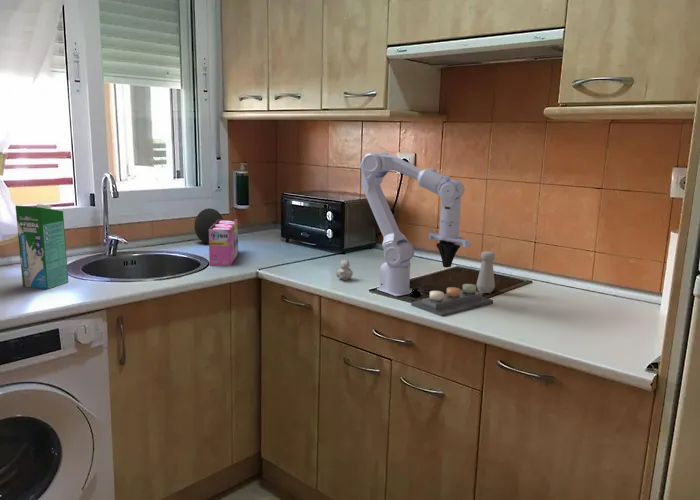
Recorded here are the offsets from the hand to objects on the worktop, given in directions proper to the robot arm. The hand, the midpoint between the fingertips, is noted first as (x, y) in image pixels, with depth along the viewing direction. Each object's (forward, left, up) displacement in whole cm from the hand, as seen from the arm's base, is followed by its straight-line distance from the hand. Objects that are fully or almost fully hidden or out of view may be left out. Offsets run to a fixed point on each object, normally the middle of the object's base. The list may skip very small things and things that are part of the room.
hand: (446, 266), depth 173 cm
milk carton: (-81, -93, -11) cm, 123 cm away
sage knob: (+4, +6, -10) cm, 12 cm away
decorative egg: (-115, -23, -11) cm, 117 cm away
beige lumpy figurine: (-36, -11, -11) cm, 39 cm away
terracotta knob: (+4, -1, -10) cm, 11 cm away
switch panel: (+4, -1, -10) cm, 11 cm away
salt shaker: (0, +18, -11) cm, 21 cm away
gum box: (-84, -31, -11) cm, 90 cm away
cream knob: (+4, -8, -10) cm, 13 cm away
